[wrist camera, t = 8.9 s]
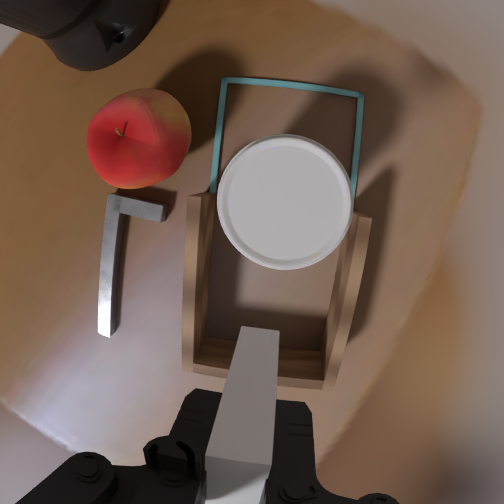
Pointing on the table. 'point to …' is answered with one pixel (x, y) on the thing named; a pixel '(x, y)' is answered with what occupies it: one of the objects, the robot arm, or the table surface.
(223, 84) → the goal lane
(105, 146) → the apple
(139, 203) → the crook tool
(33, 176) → the table surface
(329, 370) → the cubby
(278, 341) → the robot arm
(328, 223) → the coffee cup
